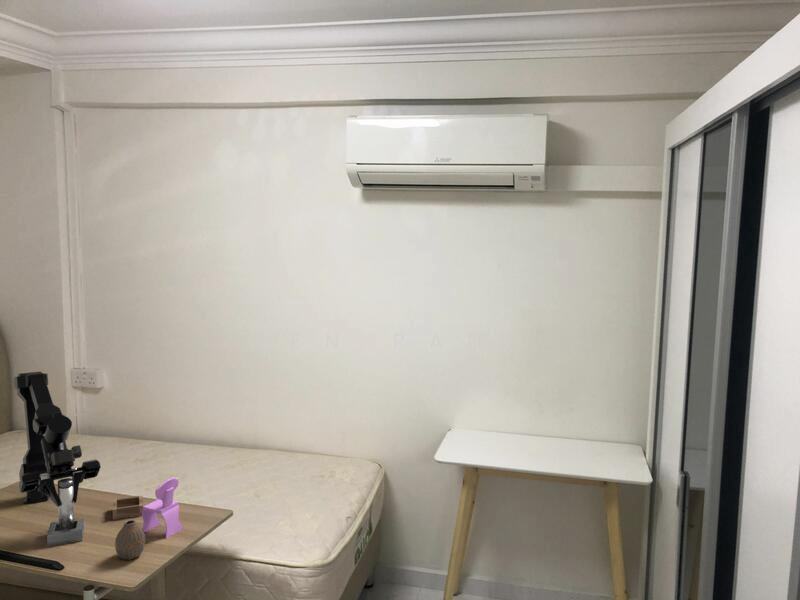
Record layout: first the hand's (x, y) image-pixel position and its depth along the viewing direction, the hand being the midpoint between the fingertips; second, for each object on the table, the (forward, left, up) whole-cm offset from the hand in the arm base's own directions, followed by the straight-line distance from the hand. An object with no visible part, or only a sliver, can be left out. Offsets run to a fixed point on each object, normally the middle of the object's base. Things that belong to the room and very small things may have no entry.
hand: (67, 504), depth 158 cm
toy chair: (+4, +23, -10) cm, 25 cm away
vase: (+16, +15, -10) cm, 24 cm away
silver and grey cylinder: (-1, 0, -7) cm, 7 cm away
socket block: (-1, 0, -9) cm, 10 cm away
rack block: (-12, +15, -9) cm, 21 cm away
